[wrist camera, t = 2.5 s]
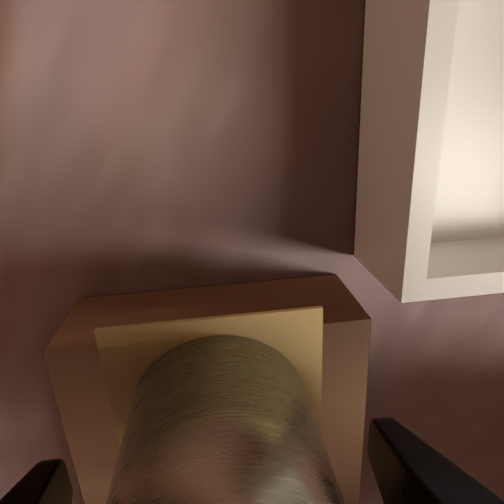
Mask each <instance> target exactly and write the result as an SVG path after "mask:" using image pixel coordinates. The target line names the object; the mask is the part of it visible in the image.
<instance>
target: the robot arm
mask: <svg viewBox="0 0 504 504" xmlns="http://www.w3.org/2000/svg"><path fill="white" fill-rule="evenodd" d="M368 456H369V460H370V463H371V466H372V469H373V472H374V475H375V478H376V481H377V484H378V487H379V490H380V493H381V496H382V499H383V502H384V504H504V501H503V500H502V499H500V498H499V497H498V496H496V495H495V494H494V493H492V492H491V491H490V490H488V489H487V488H486V487H484V486H483V485H482V484H480V483H479V482H478V481H476V480H475V479H474V478H472V477H471V476H470V475H468V474H467V473H466V472H464V471H463V470H462V469H460V468H459V467H457V466H456V465H455V464H453V463H452V462H451V461H449V460H448V459H447V458H445V457H444V456H443V455H441V454H440V453H439V452H437V451H436V450H435V449H433V448H432V447H431V446H429V445H428V444H427V443H425V442H424V441H423V440H421V439H420V438H419V437H417V436H416V435H415V434H413V433H412V432H411V431H409V430H408V429H406V428H405V427H404V426H402V425H401V424H400V423H398V422H397V421H396V420H394V419H393V418H391V417H379V418H373V419H371V421H370V423H369V436H368ZM72 496H73V492H72V486H71V482H70V479H69V476H68V472H67V469H66V465H65V463H64V461H63V460H62V459H51V460H44V461H40V462H39V463H37V464H36V465H35V466H34V467H33V468H32V469H31V470H30V471H29V472H28V473H27V474H26V475H25V476H24V477H23V478H22V479H21V480H20V481H19V482H18V483H17V484H16V485H15V486H14V487H13V488H12V489H11V490H10V491H9V492H8V493H7V494H6V495H5V496H4V497H3V498H2V499H1V500H0V504H72Z"/></svg>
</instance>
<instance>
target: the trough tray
mask: <svg viewBox="0 0 504 504" xmlns="http://www.w3.org/2000/svg"><path fill="white" fill-rule="evenodd" d="M354 257H355V258H356V259H357V260H358V261H359V262H360V263H361V264H362V265H363V266H364V267H365V268H367V269H368V270H369V271H370V272H371V273H372V274H373V275H374V276H375V277H376V278H377V279H378V280H379V281H380V282H381V283H382V284H383V285H384V286H385V287H386V288H387V289H388V290H389V291H390V292H391V293H392V294H393V295H394V296H395V297H396V298H397V299H398V300H399V301H400V302H401V303H406V302H415V301H425V300H435V299H445V298H455V297H465V296H475V295H485V294H495V293H504V0H366V2H365V24H364V46H363V68H362V90H361V112H360V134H359V156H358V179H357V201H356V223H355V245H354Z"/></svg>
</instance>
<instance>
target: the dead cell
mask: <svg viewBox="0 0 504 504" xmlns="http://www.w3.org/2000/svg"><path fill="white" fill-rule="evenodd" d="M106 504H345V501H344V498H343V495H342V492H341V490H340V487H339V484H338V481H337V478H336V476H335V473H334V470H333V467H332V464H331V462H330V459H329V456H328V453H327V450H326V448H325V445H324V442H323V439H322V436H321V433H320V431H319V428H318V425H317V422H316V419H315V417H314V414H313V411H312V408H311V405H310V403H309V400H308V397H307V394H306V391H305V389H304V386H303V383H302V380H301V378H300V376H299V374H298V372H297V370H296V369H295V367H294V366H293V364H292V363H291V362H290V361H289V360H288V359H287V358H286V357H285V356H284V355H283V354H281V353H280V352H279V351H278V350H276V349H274V348H273V347H271V346H269V345H267V344H265V343H263V342H261V341H258V340H255V339H251V338H248V337H242V336H236V335H212V336H206V337H200V338H197V339H193V340H190V341H187V342H185V343H182V344H180V345H177V346H176V347H174V348H172V349H170V350H168V351H167V352H165V353H164V354H163V355H161V356H160V357H158V358H157V359H156V360H155V361H154V362H153V363H152V364H151V365H150V366H149V367H148V368H147V370H146V371H145V372H144V373H143V375H142V376H141V378H140V380H139V381H138V383H137V386H136V388H135V391H134V394H133V398H132V402H131V406H130V410H129V414H128V418H127V422H126V426H125V430H124V434H123V438H122V442H121V446H120V450H119V454H118V458H117V462H116V466H115V470H114V474H113V478H112V482H111V486H110V490H109V494H108V498H107V502H106Z"/></svg>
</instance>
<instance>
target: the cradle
mask: <svg viewBox="0 0 504 504" xmlns="http://www.w3.org/2000/svg"><path fill="white" fill-rule="evenodd" d="M370 331H371V318H370V317H369V315H368V314H367V313H366V312H365V310H364V309H363V308H362V306H361V305H360V304H359V303H358V301H357V300H356V299H355V298H354V296H353V295H352V294H351V293H350V291H349V290H348V289H347V288H346V286H345V285H344V284H343V282H342V281H341V280H340V279H339V277H338V276H337V275H336V274H333V275H322V276H311V277H300V278H290V279H279V280H268V281H257V282H247V283H236V284H225V285H214V286H204V287H193V288H182V289H171V290H160V291H150V292H139V293H128V294H117V295H107V296H96V297H85V298H79V299H78V300H77V302H76V303H75V305H74V306H73V308H72V309H71V311H70V312H69V314H68V315H67V317H66V318H65V320H64V321H63V323H62V324H61V326H60V327H59V329H58V330H57V332H56V334H55V335H54V337H53V338H52V340H51V341H50V343H49V344H48V346H47V347H46V349H45V350H44V352H43V357H44V360H45V364H46V367H47V371H48V374H49V378H50V382H51V385H52V389H53V392H54V396H55V399H56V403H57V407H58V410H59V414H60V417H61V421H62V425H63V428H64V432H65V435H66V439H67V442H68V446H69V450H70V453H71V457H72V460H73V464H74V467H75V471H76V475H77V478H78V482H79V485H80V489H81V493H82V496H83V500H84V503H85V504H106V502H107V498H108V494H109V490H110V486H111V482H112V478H113V474H114V470H115V466H116V462H117V458H118V454H119V450H120V446H121V442H122V438H123V434H124V430H125V426H126V422H127V418H128V414H129V410H130V406H131V402H132V398H133V394H134V391H135V388H136V386H137V383H138V381H139V380H140V378H141V376H142V375H143V373H144V372H145V371H146V370H147V368H148V367H149V366H150V365H151V364H152V363H153V362H154V361H155V360H156V359H157V358H158V357H160V356H161V355H163V354H164V353H165V352H167V351H168V350H170V349H172V348H174V347H176V346H177V345H180V344H182V343H185V342H187V341H190V340H193V339H197V338H200V337H206V336H212V335H236V336H242V337H248V338H251V339H255V340H258V341H261V342H263V343H265V344H267V345H269V346H271V347H273V348H274V349H276V350H278V351H279V352H280V353H281V354H283V355H284V356H285V357H286V358H287V359H288V360H289V361H290V362H291V363H292V364H293V366H294V367H295V369H296V370H297V372H298V374H299V376H300V378H301V380H302V383H303V386H304V389H305V391H306V394H307V397H308V400H309V403H310V405H311V408H312V411H313V414H314V417H315V419H316V422H317V425H318V428H319V431H320V433H321V436H322V439H323V442H324V445H325V448H326V450H327V453H328V456H329V459H330V462H331V464H332V467H333V470H334V473H335V476H336V478H337V481H338V484H339V487H340V490H341V492H342V495H343V498H344V501H345V504H359V498H360V483H361V468H362V453H363V438H364V422H365V407H366V392H367V377H368V362H369V346H370Z"/></svg>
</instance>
